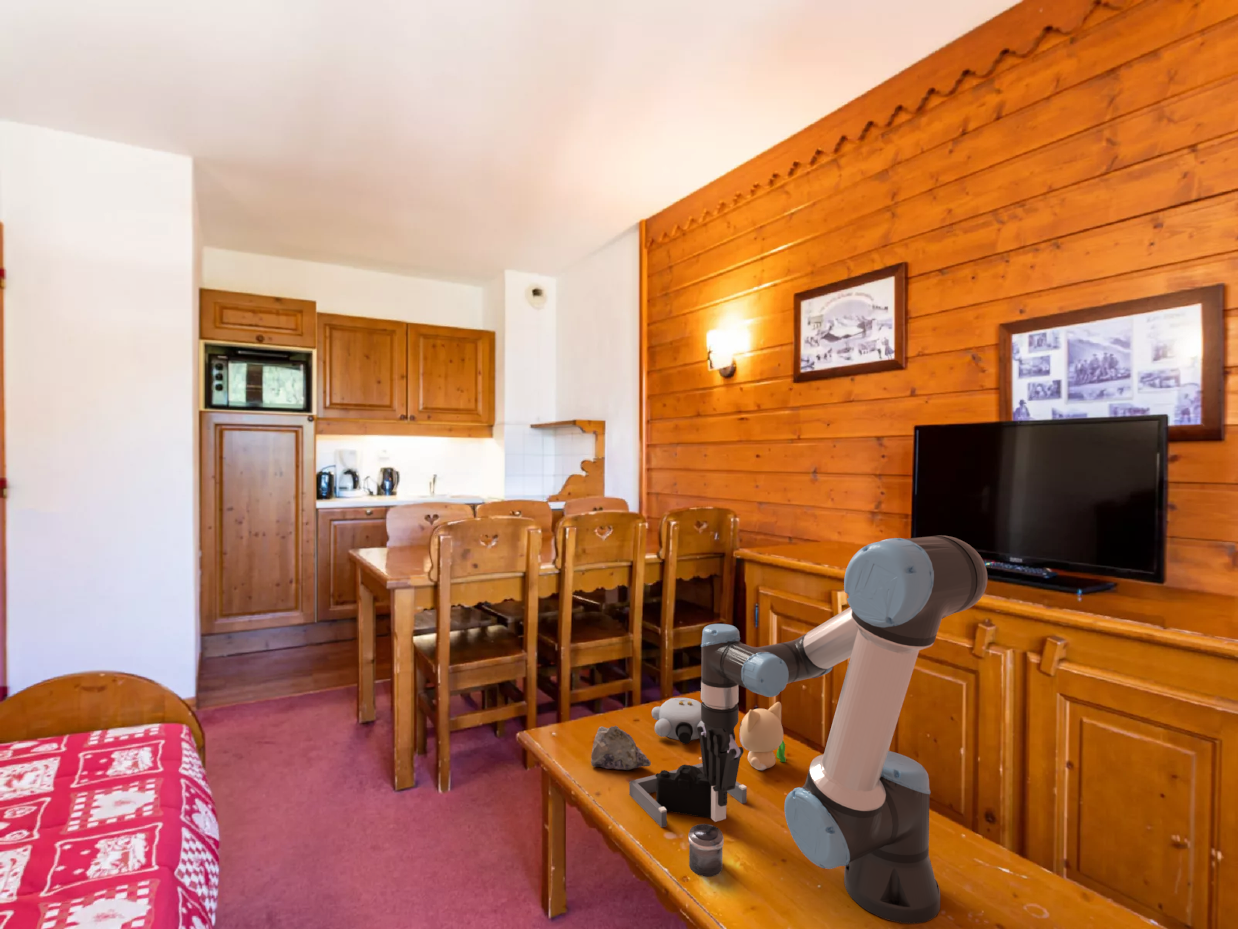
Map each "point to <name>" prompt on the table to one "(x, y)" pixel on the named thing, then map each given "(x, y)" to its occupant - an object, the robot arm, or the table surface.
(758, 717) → the kitten
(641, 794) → the bracket
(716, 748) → the robot arm
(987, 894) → the table surface
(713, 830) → the lens
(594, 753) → the mineral rock
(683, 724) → the figurine
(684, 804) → the film camera
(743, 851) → the table surface
